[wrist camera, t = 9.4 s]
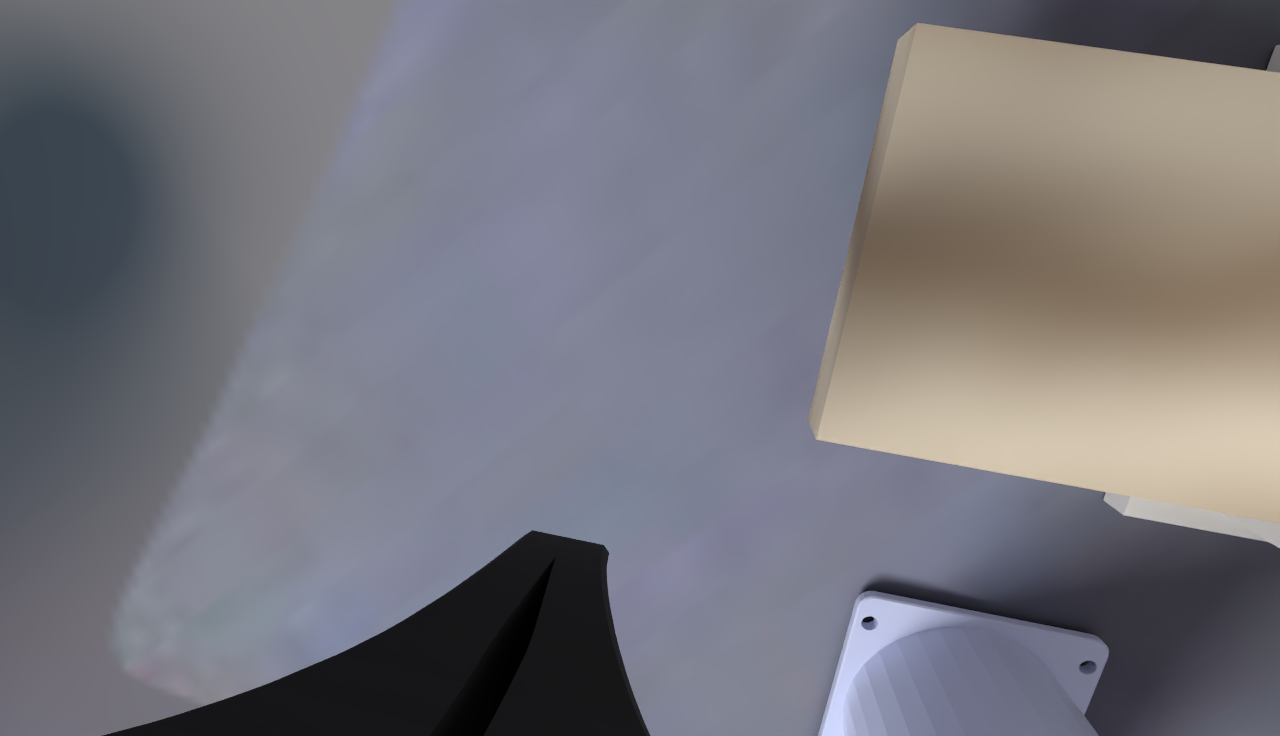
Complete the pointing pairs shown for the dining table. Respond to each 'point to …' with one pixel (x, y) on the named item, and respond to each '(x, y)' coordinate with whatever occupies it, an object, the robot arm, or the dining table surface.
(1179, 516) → the stand
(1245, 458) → the beam
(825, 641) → the dining table surface
